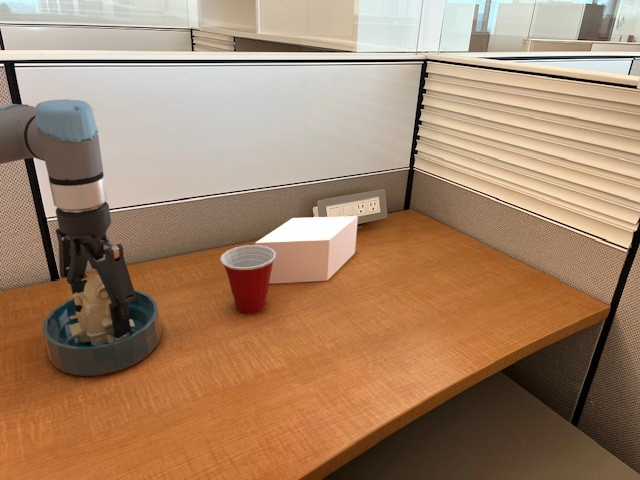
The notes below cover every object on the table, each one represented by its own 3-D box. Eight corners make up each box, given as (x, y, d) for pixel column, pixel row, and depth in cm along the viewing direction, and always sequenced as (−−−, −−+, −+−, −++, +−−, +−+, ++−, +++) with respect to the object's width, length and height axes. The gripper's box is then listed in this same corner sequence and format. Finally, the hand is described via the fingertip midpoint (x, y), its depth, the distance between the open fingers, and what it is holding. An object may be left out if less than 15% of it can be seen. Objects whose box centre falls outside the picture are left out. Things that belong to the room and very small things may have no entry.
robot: (78, 358, 79) (61, 280, 73) (70, 333, 85) (53, 258, 79) (142, 339, 85) (132, 264, 78) (131, 316, 91) (120, 245, 84)
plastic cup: (245, 287, 105) (244, 237, 100) (286, 302, 100) (287, 251, 95) (211, 309, 97) (208, 257, 92) (254, 327, 92) (252, 273, 87)
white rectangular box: (240, 271, 112) (238, 230, 107) (337, 242, 128) (339, 206, 123) (273, 299, 101) (273, 256, 97) (374, 264, 117) (378, 226, 113)
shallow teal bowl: (27, 351, 83) (19, 323, 80) (117, 304, 97) (112, 278, 94) (94, 394, 74) (88, 363, 72) (181, 335, 89) (179, 308, 86)
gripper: (150, 213, 72) (164, 335, 82) (61, 183, 82) (83, 295, 92) (107, 229, 66) (128, 358, 76) (17, 195, 76) (45, 313, 86)
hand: (103, 323), depth 84 cm, fingers closed on robot, 9 cm apart
